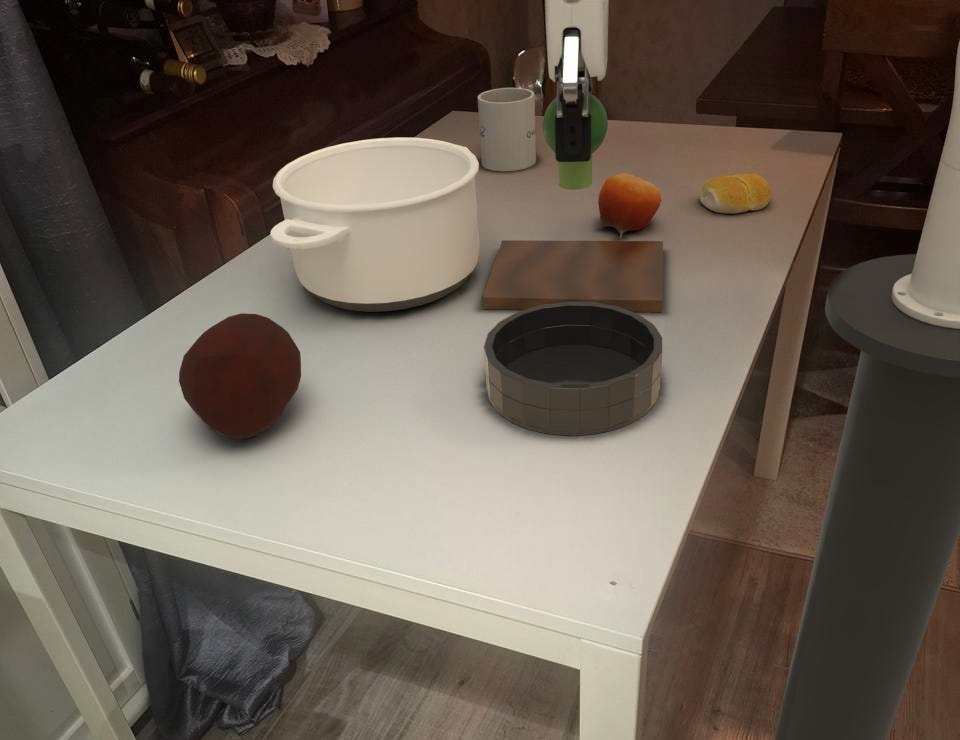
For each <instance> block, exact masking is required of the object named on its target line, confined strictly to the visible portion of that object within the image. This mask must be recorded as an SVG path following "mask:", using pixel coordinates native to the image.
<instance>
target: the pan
mask: <svg viewBox="0 0 960 740" xmlns="http://www.w3.org/2000/svg"><path fill="white" fill-rule="evenodd" d="M483 357H484V371H485V373H484V375H485V387H486V390H487V397H488V400H489V402H490V404H491V405H492V407H493V409H494V410H495V411H496V412H497V413H498V414H499V415H500V416H502V417H503V418H504V419H506V420H507V421H509V422H511V423H512V424H514V425H516V426H519V427H520V428H523V429H525V430H529V431H533V432H537V433H540V434H541V433H542V434H547V435H553V436H554V435H555V436H564V437H565V436H569V437H570V436H572V437H573V436H574V437H575V436H576V437H577V436H589V435H596V434H604V433H607V432H610V431H611V432H612V431H614V430H618V429H621V428H624V427H627V426H628V425H630V424H633V423H634V422H636V421H637V420H639V419H641V418H642V417H644V416H645V415H646V414H647V413H648V412H649V411H650V410H651V409H652V408H653V407H654V405H655V404H656V402H657V400H658V397H659V394H660V391H661V375H662V363H663V362H662V361H663V336H662V335H661V333H660V332H659V330H658V328H657V327H656V325H655V324H654V323H652V322H651V321H649V320H648V319H646V318H644V316H642V315H640V314H639V313H638V312H631V311H629V310H626V309H623V308H620V307H617V306H613V305H607V304H601V303H595V302H560V303H553V304H545V305H539V306H536V307H533V308H529V309H526V310H519V311H517V312H515V313H513V314H511V315H510V316H507V317H506V318H504V319H502V320H500V321H499V322H497V324H495V326H493V328H491V329H490V331H489V332H488V333H487V336H486V338H485V342H484V345H483Z"/></svg>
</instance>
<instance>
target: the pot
mask: <svg viewBox="0 0 960 740" xmlns="http://www.w3.org/2000/svg"><path fill="white" fill-rule="evenodd" d="M479 167H480V163H479V161H478V157H476V155H475V154H474V153H472V151H470V149H469V148H468V147H466V146H462V145H460V144H455V143H451V142H448V141H445V140H438V139H432V138H422V137H380V138H370V139H362V140H356V141H351V142H344V143H340V144H335V145H332V146H327V147H324V148H321V149H317V150H315V151H312V152H309V153H307V154H304V155H302V156H299V157H297V158H296V159H294V160H292V161H291V162H288V163H287V164H285V165H284V166H283V167H282V168H280V169H279V170H278V171H277V173H276V174H275V176H274V177H273V181H272V189H273V191H274V193H275V195H277V197H279V199H280V204H281V209H282V214H283V219H284V220H283V221H281V222H279V223H277V224H275V225H274V226H273V227H272V229H271V230H270V234H269V236H270V240H271V241H272V243H273V244H275V245H277V246H278V247H281V248H286V249H290V254H291V259H292V264H293V269H294V271H295V274H296V277H297V279H298V281H299V282H300V285H302V287H304V289H306V290H307V291H308V293H310V294H311V295H312V296H313V297H315V298H316V299H318V300H320V301H321V302H324V303H326V304H328V305H329V306H333V307H336V308H340V309H343V310H348V311H355V312H369V313H378V312H379V313H380V312H391V311H400V310H401V311H402V310H407V309H411V308H415V307H420V306H424V305H426V304H429V303H432V302H435V301H438V300H440V299H442V298H445V297H446V296H448V295H449V294H451V293H453V292H454V291H455V290H457V289H458V288H460V287H461V286H462V284H464V283H465V282H466V281H467V280H468V279H469V278H470V276H471V275H472V273H473V271H474V270H475V268H476V266H477V264H478V262H479V256H480V255H479V254H480V235H479V219H478V205H477V192H476V175H477V174H478V172H479V169H480V168H479Z"/></svg>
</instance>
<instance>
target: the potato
mask: <svg viewBox="0 0 960 740" xmlns="http://www.w3.org/2000/svg"><path fill="white" fill-rule="evenodd" d="M301 361H302V360H301V351H300V349H299V348H298V345H297V344H296V342H295V341H294V339H293V338H292V336H291V334H290V333H289V331H287V330H286V329H285V328H284V327H283V326H281V325H280V324H278V323H277V322H275V321H274V320H273V319H271V318H269V317H268V316H265V315H261V314H259V313H258V314H257V313H243V312H242V313H238V314H234V315H229V316H227V317H226V318H224V319H222V320H221V321H219V322H217V323H215V324H214V325H212V326H210V327H209V328H208V329H207V330H205V331H204V332H203V333H202V334H201V335H200V336H199V337H198V338H197V339H196V340H195V341H194V343H193V344H191V346H190V347H189V349H188V350H187V351H186V352H185V354H183V357H182V360H181V365H180V368H179V372H178V383H179V386H180V389H181V390H180V391H181V393H182V396H183V399H184V400H185V402H186V403H187V404H188V406H189V407H190V408H191V409H192V411H193V412H194V413H195V414H196V416H197V417H198V418H199V419H200V420H201V421H202V422H203V423H204V424H205V425H206V426H207V427H209V428H210V429H211V431H214V432H216V433H218V434H220V435H223V436H224V437H226V438H230V439H240V440H241V439H242V440H244V439H248V438H251V437H256V436H257V435H259V434H261V433H262V432H264V431H267V430H268V429H269V428H270V427H271V426H272V425H273V424H274V423H275V422H277V420H278V419H279V418H280V417H281V416H282V415H283V413H284V412H285V410H286V408H287V407H288V405H289V403H290V402H291V400H292V398H293V397H294V395H295V394H296V392H297V391H298V389H299V385H300V382H301V378H302V362H301Z"/></svg>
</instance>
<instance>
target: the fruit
mask: <svg viewBox="0 0 960 740" xmlns="http://www.w3.org/2000/svg"><path fill="white" fill-rule="evenodd" d="M597 201H598V202H597V204H598V210H599V219H600V223H601V224H600V225H601V229H602V228H607V227H612V228H614V229H616V231H617V232H618V233H619V238H620V239H622V238H623V234H624V233H626V232H630V231H640V230H641V229H644V228H646V227H648V225H649V224H650V222H651V221H652V219H653V217H654V216H655V215H656V213H657V212H658V210H659V208H660V206H661V203H662V196H661V191H660V190H659V189H658V188H657V187H656V185H654V184H653V183H652V182H650V181H647V180H645V179H642V178H640V177H639V176H637V175H635V176H634V175H632V174H630V173H627V172H620V173H619V174H615V175H612V176H611V175H610V176H608V177H607V178H605V181H604V182H603V184H602V186H601V188H600V191H599V193H598V198H597Z"/></svg>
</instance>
